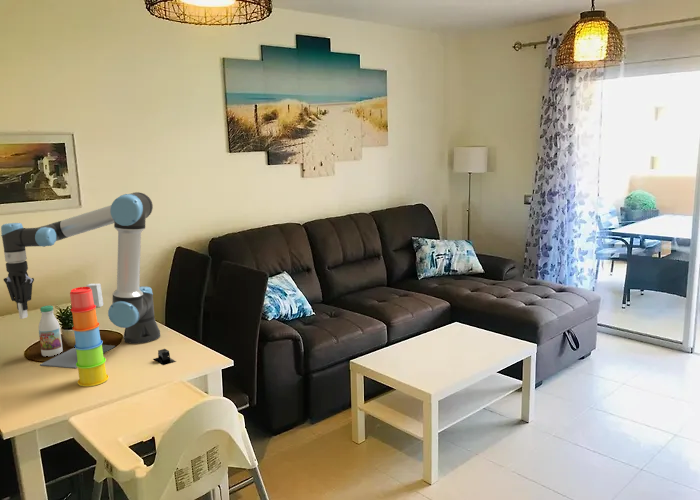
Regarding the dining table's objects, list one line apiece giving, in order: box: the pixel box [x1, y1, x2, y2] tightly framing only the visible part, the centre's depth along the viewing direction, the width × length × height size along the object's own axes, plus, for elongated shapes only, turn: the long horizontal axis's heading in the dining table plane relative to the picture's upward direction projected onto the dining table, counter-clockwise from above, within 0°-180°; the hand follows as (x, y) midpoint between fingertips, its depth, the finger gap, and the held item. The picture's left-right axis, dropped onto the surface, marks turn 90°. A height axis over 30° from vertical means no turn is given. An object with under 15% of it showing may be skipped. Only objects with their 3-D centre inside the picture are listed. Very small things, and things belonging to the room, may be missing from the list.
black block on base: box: [152, 348, 177, 366], centre depth 220 cm, size 12×7×5 cm, turn 43°
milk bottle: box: [38, 305, 64, 357], centre depth 229 cm, size 8×8×20 cm
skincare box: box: [85, 283, 104, 308], centre depth 300 cm, size 6×4×12 cm
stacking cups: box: [69, 286, 110, 388], centre depth 199 cm, size 10×10×35 cm
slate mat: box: [39, 344, 116, 369], centre depth 228 cm, size 16×24×1 cm, turn 166°
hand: (23, 317), depth 231 cm, fingers closed
